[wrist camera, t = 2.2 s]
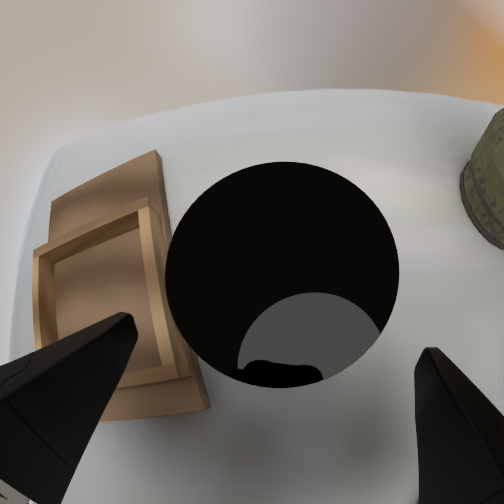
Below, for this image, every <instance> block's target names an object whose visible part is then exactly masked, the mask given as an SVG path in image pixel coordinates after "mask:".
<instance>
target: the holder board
mask: <svg viewBox="0 0 504 504" xmlns="http://www.w3.org/2000/svg"><path fill="white" fill-rule="evenodd" d="M171 240H172V234H171V228H170V221H169V215H168V208H167V201H166V194H165V186H164V179H163V171H162V162H161V157H160V156H159V154H158V153H157V151H156V150H153V151H151V152H148V153H146V154H144V155H142V156H139V157H137V158H135V159H133V160H130V161H128V162H126V163H124V164H122V165H120V166H118V167H115V168H113V169H111V170H109V171H107V172H105V173H103V174H101V175H99V176H97V177H95V178H93V179H91V180H89V181H88V182H86V183H84V184H82V185H80V186H78V187H76V188H75V189H73V190H71V191H69V192H67V193H66V194H64V195H62V196H60V197H59V198H57V199H55V200H53V201H52V204H51V213H50V224H49V237H48V243H46V244H44V245H42V246H40V247H39V248H37V249H35V250H34V253H33V281H32V295H33V323H34V336H35V347H36V350H38V349H41V348H43V347H45V346H47V345H49V344H51V343H54V342H56V341H58V340H60V339H62V338H64V337H66V336H69V335H71V334H73V333H75V332H77V331H79V330H82V329H84V328H86V327H88V326H90V325H92V324H94V323H97V322H99V321H101V320H103V319H105V318H107V317H110V316H112V315H114V314H116V313H118V312H126V313H130V314H132V316H133V317H134V321H135V324H136V327H137V330H138V340H137V342H136V345H135V347H134V349H133V352H132V354H131V357H130V359H129V361H128V364H127V366H126V369H125V371H124V373H123V376H122V378H121V380H120V382H119V384H118V385H117V387H116V389H115V391H114V393H113V395H112V397H111V399H110V401H109V403H108V405H107V407H106V408H105V410H104V412H103V414H102V416H101V418H100V420H99V421H113V420H128V419H140V418H150V417H159V416H167V415H174V414H181V413H188V412H194V411H200V410H205V409H207V408H209V407H210V404H209V400H208V397H207V393H206V389H205V386H204V382H203V378H202V375H201V371H200V367H199V363H198V359H197V355H196V353H195V352H194V351H193V350H192V348H191V347H190V346H189V345H188V344H187V342H186V341H185V339H184V338H183V336H182V335H181V333H180V332H179V330H178V328H177V326H176V324H175V322H174V320H173V317H172V314H171V312H170V309H169V305H168V301H167V296H166V289H165V265H166V259H167V253H168V250H169V246H170V243H171Z"/></svg>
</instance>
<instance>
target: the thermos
mask: <svg viewBox="0 0 504 504" xmlns="http://www.w3.org/2000/svg"><path fill="white" fill-rule="evenodd" d="M460 191H461V197H462V202H463V204H464V206H465V209H466V211H467V213H468V216H469V218H470V219H471V221H472V222H473V224H474V225H475V227H476V228H477V230H478V231H479V232H480V233H481V234H482V235H483V236H484V237H485V238H486V239H487V240H488V241H489V242H490V243H492V244H493V245H495V246H497V247H498V248H500V249H503V250H504V108H503V109H501V110H500V111H498V112H497V113H495V115H494V116H493V118H492V120H491V122H490V124H489V125H488V127H487V129H486V130H485V132H484V134H483V135H482V137H481V139H480V140H479V142H478V144H477V145H476V147H475V149H474V151H473V153H472V156H471V160H470V161H469V162H468V163H467V164H466V166H465V168H464V170H463V171H462V173H461V177H460Z"/></svg>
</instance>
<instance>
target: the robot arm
mask: <svg viewBox="0 0 504 504" xmlns="http://www.w3.org/2000/svg"><path fill="white" fill-rule="evenodd" d="M137 340H138V330H137V327H136V324H135V321H134V317H133V316H132V314H130V313H126V312H118V313H116V314H114V315H112V316H110V317H107V318H105V319H103V320H101V321H99V322H97V323H94V324H92V325H90V326H88V327H86V328H84V329H82V330H79V331H77V332H75V333H73V334H71V335H69V336H66V337H64V338H62V339H60V340H58V341H56V342H54V343H51V344H49V345H47V346H45V347H43V348H41V349H38V350H36V351H35V352H32V353H30V354H28V355H26V356H23V357H21V358H19V359H16V360H14V361H12V362H9V363H7V364H4V365H1V366H0V504H29V503H28V502H29V501H30V499H31V500H32V501H34V502H36V503H37V504H61V502H62V500H63V498H64V495H65V493H66V491H67V488H68V486H69V484H70V482H71V479H72V477H73V475H74V473H75V470H76V468H77V466H78V464H79V462H80V459H81V457H82V455H83V453H84V451H85V449H86V447H87V445H88V443H89V440H90V438H91V436H92V434H93V432H94V430H95V428H96V426H97V424H98V422H99V420H100V418H101V416H102V414H103V412H104V410H105V408H106V407H107V405H108V403H109V401H110V399H111V397H112V395H113V393H114V391H115V389H116V387H117V385H118V384H119V382H120V380H121V378H122V376H123V373H124V371H125V369H126V366H127V364H128V361H129V359H130V357H131V354H132V352H133V349H134V347H135V345H136V342H137ZM414 381H415V422H416V433H417V446H418V465H419V504H504V416H503V415H502V414H501V413H500V411H499V410H498V409H497V408H496V407H495V406H494V405H493V404H492V403H491V402H490V401H489V399H488V398H487V397H486V396H485V395H484V394H483V393H482V392H481V391H480V390H479V389H478V388H477V387H476V386H475V385H474V384H473V382H472V381H471V380H470V379H469V378H468V377H467V376H466V375H465V374H464V373H463V372H462V371H461V370H460V369H459V368H458V367H457V366H456V365H455V364H454V363H453V362H452V361H451V360H450V359H449V358H448V357H447V356H446V355H445V354H444V353H443V352H442V351H441V350H440V349H439V348H437V347H426V348H425V349H424V350H423V352H422V354H421V356H420V358H419V360H418V362H417V364H416V367H415V371H414Z"/></svg>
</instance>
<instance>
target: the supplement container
mask: <svg viewBox="0 0 504 504" xmlns="http://www.w3.org/2000/svg"><path fill="white" fill-rule="evenodd" d="M398 284H399V261H398V254H397V249H396V245H395V241H394V238H393V235H392V232H391V230H390V228H389V226H388V224H387V222H386V220H385V218H384V216H383V215H382V213H381V212H380V210H379V209H378V207H377V206H376V205H375V204H374V202H373V201H372V200H371V199H370V198H369V197H368V196H367V195H366V194H365V193H364V192H363V191H362V190H361V189H360V188H358V187H357V186H356V185H355V184H353V183H352V182H350V181H349V180H347V179H346V178H344V177H342V176H340V175H338V174H336V173H334V172H332V171H330V170H327V169H324V168H321V167H318V166H314V165H310V164H305V163H298V162H272V163H264V164H259V165H255V166H251V167H248V168H245V169H242V170H240V171H237V172H235V173H232V174H231V175H229V176H227V177H225V178H223V179H221V180H220V181H218V182H217V183H215V184H214V185H212V186H211V187H210V188H209V189H207V190H206V191H205V192H204V193H203V194H202V195H201V196H199V197H198V198H197V199H196V201H195V202H194V203H193V204H192V205H191V206H190V208H189V209H188V210H187V212H186V213H185V214H184V216H183V217H182V219H181V221H180V222H179V224H178V226H177V228H176V230H175V232H174V235H173V237H172V240H171V243H170V246H169V250H168V253H167V259H166V265H165V289H166V296H167V301H168V305H169V309H170V312H171V314H172V317H173V320H174V322H175V324H176V326H177V328H178V330H179V332H180V333H181V335H182V336H183V338H184V339H185V341H186V342H187V344H188V345H189V346H190V347H191V348H192V350H193V351H194V352H195V353H196V354H197V355H198V356H199V357H200V358H201V359H202V360H204V361H205V362H206V363H207V364H209V365H210V366H211V367H213V368H214V369H216V370H218V371H219V372H221V373H223V374H224V375H226V376H229V377H231V378H233V379H235V380H238V381H241V382H244V383H247V384H251V385H256V386H261V387H270V388H291V387H298V386H304V385H308V384H312V383H316V382H319V381H321V380H324V379H327V378H329V377H331V376H333V375H335V374H337V373H339V372H341V371H343V370H344V369H346V368H347V367H349V366H350V365H352V364H353V363H354V362H355V361H357V360H358V359H359V358H360V357H361V356H362V355H364V354H365V352H366V351H367V350H368V349H369V348H370V347H371V346H372V345H373V344H374V342H375V341H376V340H377V338H378V337H379V336H380V334H381V333H382V331H383V329H384V327H385V326H386V324H387V322H388V320H389V317H390V315H391V313H392V310H393V307H394V304H395V301H396V296H397V291H398Z"/></svg>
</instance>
